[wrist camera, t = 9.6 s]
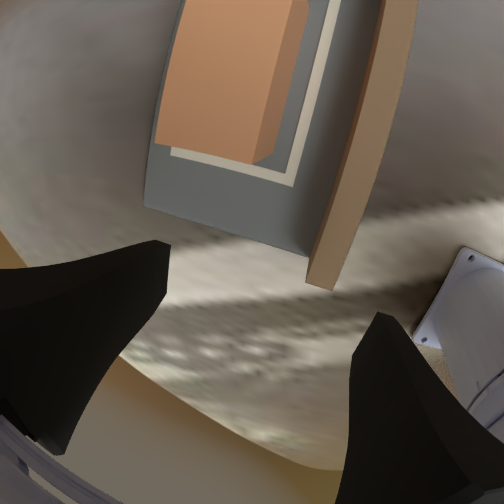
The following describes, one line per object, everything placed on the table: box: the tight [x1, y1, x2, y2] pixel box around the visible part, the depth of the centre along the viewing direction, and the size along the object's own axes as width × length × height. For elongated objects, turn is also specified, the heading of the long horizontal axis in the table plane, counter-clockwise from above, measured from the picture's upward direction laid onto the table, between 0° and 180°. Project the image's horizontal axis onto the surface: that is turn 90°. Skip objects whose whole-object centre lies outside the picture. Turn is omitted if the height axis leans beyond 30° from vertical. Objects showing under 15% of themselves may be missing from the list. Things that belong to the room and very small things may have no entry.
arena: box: [143, 0, 418, 291], centre depth 13 cm, size 13×20×4 cm, turn 168°
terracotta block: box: [155, 0, 309, 165], centre depth 12 cm, size 9×4×5 cm, turn 168°
